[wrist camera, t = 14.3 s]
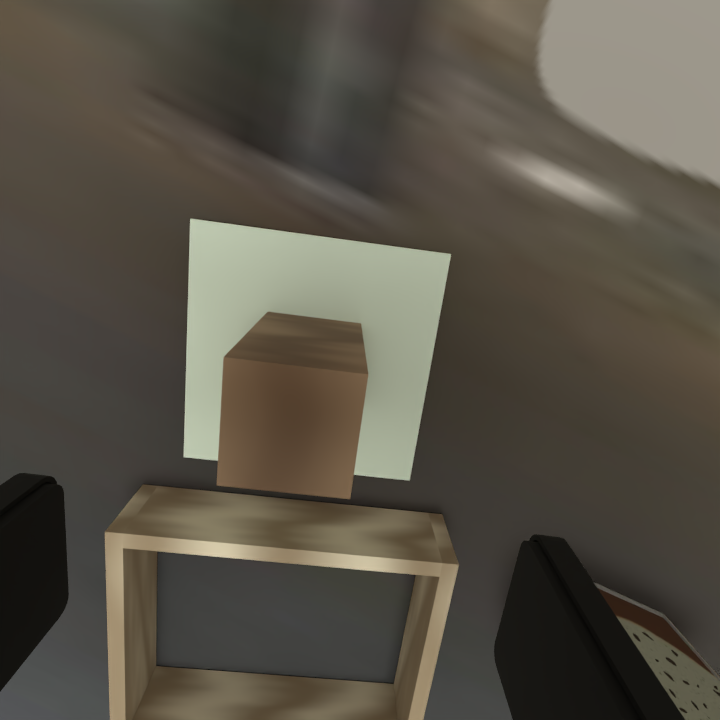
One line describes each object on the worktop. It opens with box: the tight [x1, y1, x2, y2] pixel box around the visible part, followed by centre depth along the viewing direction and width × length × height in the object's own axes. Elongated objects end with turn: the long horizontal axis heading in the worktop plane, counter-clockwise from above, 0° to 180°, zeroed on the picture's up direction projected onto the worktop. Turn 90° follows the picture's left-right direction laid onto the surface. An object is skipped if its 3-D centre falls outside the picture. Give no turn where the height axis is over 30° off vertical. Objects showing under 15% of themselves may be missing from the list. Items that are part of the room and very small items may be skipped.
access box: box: [105, 484, 459, 720], centre depth 25 cm, size 17×14×4 cm
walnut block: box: [217, 312, 368, 499], centre depth 18 cm, size 4×4×8 cm
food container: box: [594, 582, 720, 720], centre depth 23 cm, size 12×6×10 cm, turn 62°
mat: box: [184, 219, 451, 481], centre depth 22 cm, size 12×12×1 cm
